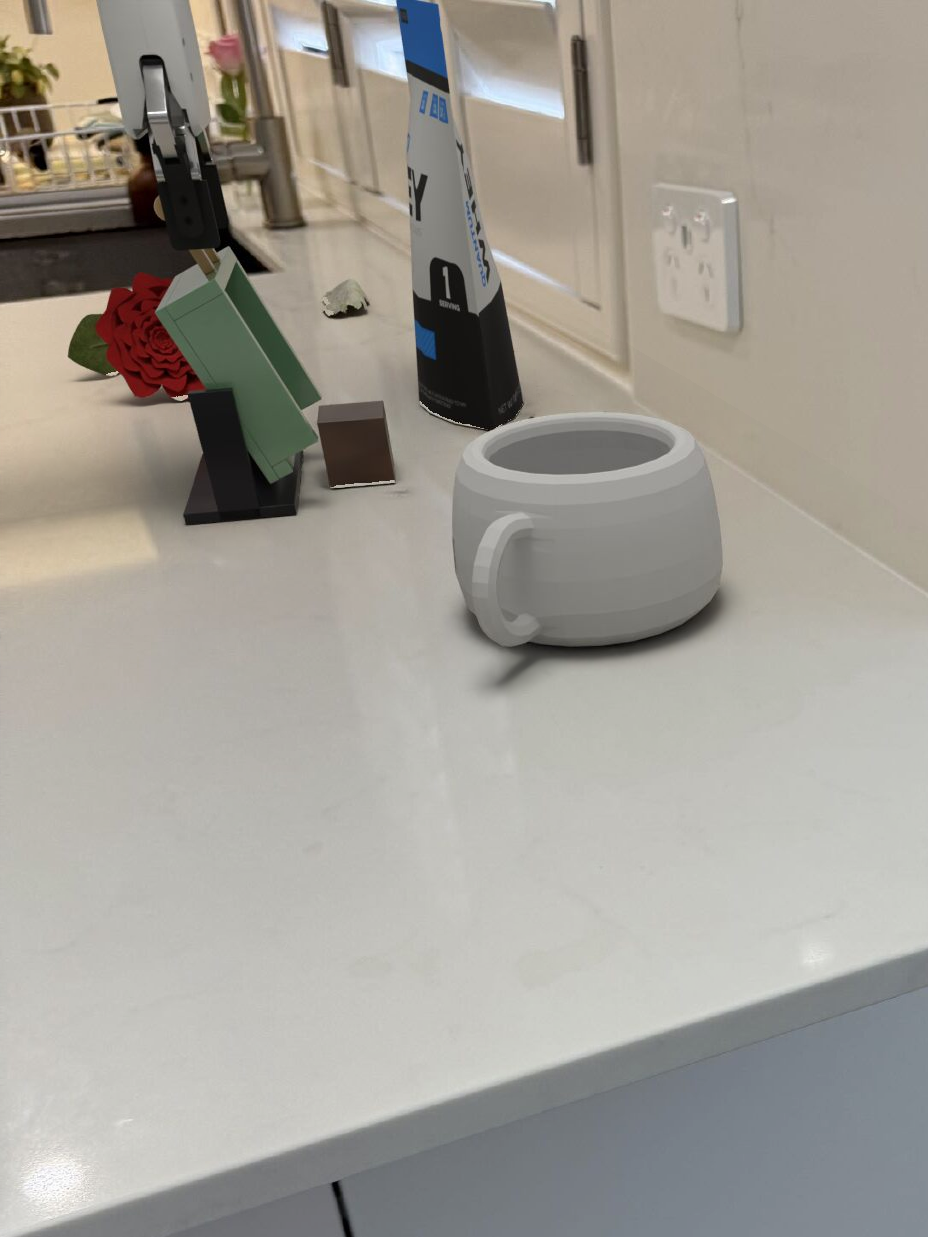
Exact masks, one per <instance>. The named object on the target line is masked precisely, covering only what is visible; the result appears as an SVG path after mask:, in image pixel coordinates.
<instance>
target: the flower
mask: <svg viewBox="0 0 928 1237" xmlns="http://www.w3.org/2000/svg"><path fill="white" fill-rule="evenodd" d="M173 279H174V278H160V277H158V276H155V275H151V274H148V273H145V272H140V271H139V272H138V273H137V274H136V275H135V276H134V278H133V282H132V285H131V289H129V288H127V287H120V286H117V287H115V288H112V289H110V292H109V296H108V300H107V304H106V308H105V310H104V312H103V313H90V314H86V315H85V316H84V317H82V319H81V320H80V322H79V323H78V324H77V325H76V328H75V330H74V332H73V334H72V336H71V339H70V341H69V345H68V350H67V358H68V359H69V360H71V361H72V362H74V363H75V364H77V365H78V366H80V367H82V368H85V369H87V370H89V371H92V372H94V373H97V374H100V375H103V376H105V375H106V374H108V373H111V372H116V371H118V372H119V373H120V374H119V375H121V376H122V378H123V379H124V381H125V383H126V384H127V386H128V388H129V390H130V391H131V393H132V394H133V397H136V398H140V399H145V398H147V397H148V398H149V397H152V396H153V395H154V394H156V393H157V392H159V391H160V390H161V387H162V389H163V390H164V393H166V395H167V396H168V397H170V398H171V397H176V396H177V397H178V396H183V395H188V392H189V391H195V390H206V388H205V387H204V385H203V384H202V382H201V381H200V379H199V378H198V376H197V375H196V373H195V372H194V370H193V369H192V367H191V366H190V364H189V363H188V361H187V360H186V358H185V357H184V355H183V354H182V352H181V351H180V350H179V348H178V347H177V345H176V344H175V342H174V341H173V339H172V338H171V336H170V335H169V333H168V332H167V330H166V329H165V327H164V326H163V324H162V323H161V321H160V320H159V318H158V317H157V315H156V314H155V311H156V309H157V308H158V306H159V304H160V302H161V301H162V299H163V297H164V295H165V294H166V292H167V290H168V288H169V287H170V285H171V283H172V281H173Z"/></svg>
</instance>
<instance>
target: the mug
mask: <svg viewBox="0 0 928 1237" xmlns="http://www.w3.org/2000/svg"><path fill="white" fill-rule="evenodd" d="M458 462H459V463H458V465H457V467H456V471H455V477H454V483H453V491H452V505H451V506H452V507H451V530H452V532H451V533H452V534H451V535H452V536H451V537H452V540H451V541H452V551H453V561H454V562H453V563H454V573H455V576H456V579H457V582H458V585H459V588H460V591H461V594H462V597H463V598H464V601H465V604H466V608H467V609H468V610H469V611H471V612H472V614H474V615H475V617H476V619H477V622H478V625H479V627H480V629H481V631H482V632H483V633H484V634H485V635H486V637H488V639H491V640H492V641H493V642H495V643H497V644H498V645H500V646H502V647H508V648H510V647H515V646H516V647H517V646H520V645H524V644H526V643H527V642H530V643H534V644H539V645H548V646H559V647H569V648H571V647H599V646H601V647H602V646H609V645H615V644H616V645H617V644H623V643H629V642H630V643H631V642H635V641H638V640H643V639H647V638H650V637H654V636H657V635H658V636H659V635H661V634H663V633H666V632H667V631H670V630H674V629H675V628H677V627H679V626H682V625H683V624H685V623H686V622H688V621H689V620H690V619H692V618H693V617H695V616H696V615H697V614H698V613H700V611H702V609H704V608H705V607H707V605H708V604H709V603H710V602H711V601H712V599H713V598H714V597H715V595H716V593H717V592H718V590H719V589H720V583H721V577H722V571H723V565H724V557H723V556H724V555H723V554H724V553H723V552H724V551H723V541H722V531H721V522H720V516H719V509H718V503H717V498H716V493H715V488H714V484H713V483H714V482H713V480H712V476H711V473H710V469H709V466H708V463H707V461H706V456H705V454H704V452H703V450H702V449H701V447H700V445H699V444H698V442H697V440H696V439H695V437H694V436H693V435H692V434H691V433H690V431H688V430H687V429H686V428H683V427H681V426H679V425H677V424H675V423H673V422H671V421H670V422H669V421H667V420H663V419H660V418H656V417H652V416H648V415H641V414H637V413H636V414H635V413H627V412H612V411H611V412H610V411H581V412H568V413H567V412H566V413H565V412H564V413H557V414H548V415H542V416H535V418H530V419H529V418H525V419H520V420H517V421H514V422H511V423H506V424H504V425H502V426H500V427H498V428H496V429H494V430H491V431H487V432H485V433H482V434H481V435H479V436H477V437H476V438H474V439H473V440H472V441H471V442H470V443H468V444H467V445H466V446H465V448H464V450H463V452H462V454H461V457H460V460H459V461H458Z"/></svg>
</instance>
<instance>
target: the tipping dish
mask: <svg viewBox="0 0 928 1237" xmlns="http://www.w3.org/2000/svg"><path fill="white" fill-rule="evenodd" d="M153 210H154V212H155V215H157V217H158V218H159V219H161V220H162V221H164V222H165V218H164V214H163V210H162V206H161V202H160V198H159V194H158V195H157V197H156V198H155V200H154V202H153ZM188 252H189V253H190V255H191V256H192V257H193V259H194V260H195V262H196V264H194V265H193V266H191V267H189V268H187V269H185V270H184V271H182V272H180V273H179V274H177V275H175V276H174V278H172V279H173V281H172V283H171V285H170V287H169V288H168V290H167V292H166V294H165V295H164V297H163V299H162V301H161V302H160V304H159V306H158V308H157V309H156V311H155V314H156V315H157V317H158V318H159V320H160V321H161V323H162V324H163V326H164V327H165V329H166V330H167V332H168V333H169V335H170V336H171V338H172V339H173V341H174V342H175V344H176V345H177V347H178V348H179V350H180V351H181V352H182V354H183V355H184V357H185V358H186V360H187V361H188V363H189V364H190V366H191V367H192V369H193V370H194V372H195V373H196V375H197V376H198V378H199V379H200V381H201V382H202V384H203V385H204V387H205V388H206V390H208V389H221V388H233V392H234V396H235V401H236V405H237V409H238V413H239V417H240V421H241V426H242V430H243V434H244V438H245V442H246V446H247V450H248V452H249V453H250V455H251V456H252V458H253V459H254V461H255V462H256V464H257V465H258V467H259V468H260V470H261V471H262V472H263V474H264V475H265V477H266V478H267V480H268V481H269V483H270V484H272V483H274V482H275V481H277V480H279V478H280V479H281V478H283V477H284V476H286V475H288V474H290V473H292V472H293V469H294V461H295V454H296V453H298V452H300V451H301V450H303V451H304V450H305V449H307V448H309V447H310V446H313V445H314V444H316V443H318V442H319V436H318V435H317V433H316V431H315V429H314V428H313V427H312V425H311V423H310V422H309V421H308V419H307V417H306V416H305V414H304V412H303V410H304V409H306V408H308V407H310V406H312V405H314V404H316V403H318V402H319V401H321V400H322V399H323V395H322V394H321V392H320V390H319V389H318V387H317V385H316V384H315V382H314V380H313V379H312V377H311V376H310V374H309V372H308V371H307V369H306V367H305V366H304V365H303V363H302V361H301V360H300V358H299V356H298V355H297V353H296V351H295V350H294V348H293V346H292V345H291V343H290V342H289V340H288V338H287V337H286V336H285V334H284V332H283V331H282V329H281V327H280V326H279V324H278V323H277V321H276V319H275V318H274V316H273V314H272V312H271V311H270V310H269V308H268V306H267V304H266V302H264V300H263V298H262V297H261V295H260V293H259V292H258V290H257V289H256V287H255V285H254V284H253V282H252V281H251V279H250V277H249V276H248V274H247V273H246V271H245V269H244V268H243V266H242V265H241V263H240V261H239V259H238V258H237V256H236V254H235V253H234V252H233V250H232V249H231V247H230V246H229V245H228V246H226V247H224V248H222V249H221V250H219V251H218V252H217V250H216V248H213V249H196V250H188Z"/></svg>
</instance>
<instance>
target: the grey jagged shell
mask: <svg viewBox="0 0 928 1237" xmlns="http://www.w3.org/2000/svg"><path fill="white" fill-rule="evenodd" d="M323 297H327V298H326V299H328V302H330V304H328V305H327V306H326V309H327V310H330V311H334V312H333V313H335V315H337V314H338V313H340V312H342V313H344V314H347V310H348V306H352V307H354V308H355V309H357V310H359V309H361V308H362V305H363V308H364V310H365V311H367V310H368V304H367V302H368V303H369V301H370V300H369V299H368V295H367V293H366V292H365V291H364V290H363V288H362V287H361V285H360V284H359V282H358V281H357V280H355V279H351V278H350V279H349V278H348V279H345V280H344V281H343V280H342V282H340V283H338V284H337V285H336V286H335V287H333V288H332V289H331V290H329V291H326V292H325V295H323V296H322V298H323ZM366 301H367V302H366Z"/></svg>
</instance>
